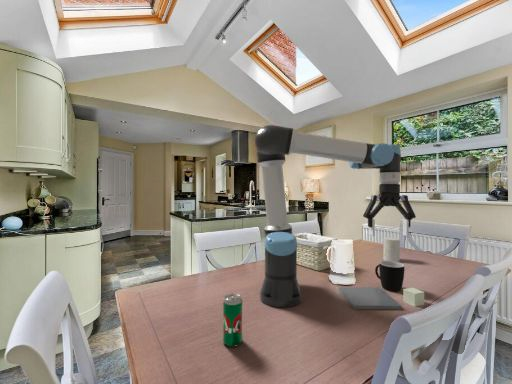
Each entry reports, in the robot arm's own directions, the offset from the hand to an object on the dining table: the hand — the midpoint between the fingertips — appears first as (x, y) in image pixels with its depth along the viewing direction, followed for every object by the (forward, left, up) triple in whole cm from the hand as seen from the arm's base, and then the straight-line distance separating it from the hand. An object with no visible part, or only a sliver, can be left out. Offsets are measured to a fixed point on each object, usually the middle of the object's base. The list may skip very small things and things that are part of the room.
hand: (388, 235), depth 105 cm
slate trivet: (-13, -11, -21) cm, 27 cm away
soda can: (-60, -38, -22) cm, 74 cm away
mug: (0, 0, -22) cm, 22 cm away
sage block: (+2, -14, -22) cm, 26 cm away
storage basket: (-25, +32, -22) cm, 46 cm away
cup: (+22, +40, -22) cm, 50 cm away
